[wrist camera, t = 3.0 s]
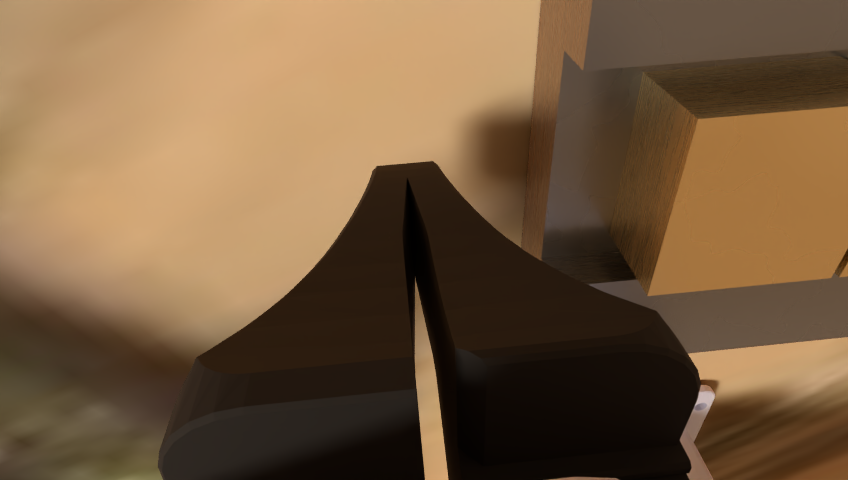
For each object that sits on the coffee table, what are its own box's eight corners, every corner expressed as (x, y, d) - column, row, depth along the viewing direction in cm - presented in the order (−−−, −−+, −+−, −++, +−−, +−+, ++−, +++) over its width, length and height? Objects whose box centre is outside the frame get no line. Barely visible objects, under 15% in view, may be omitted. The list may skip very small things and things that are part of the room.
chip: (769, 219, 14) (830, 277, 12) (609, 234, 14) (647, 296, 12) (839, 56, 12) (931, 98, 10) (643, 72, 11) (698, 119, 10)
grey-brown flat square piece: (857, 260, 18) (936, 327, 16) (517, 292, 18) (542, 368, 15) (1115, -179, 11) (1337, -183, 9) (552, -142, 11) (611, -136, 8)
